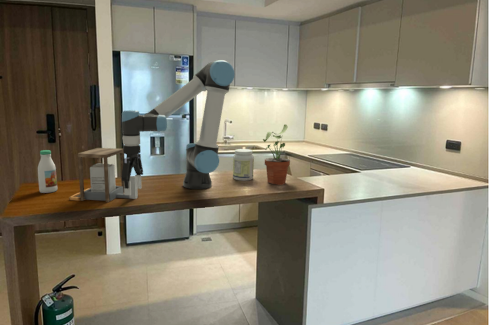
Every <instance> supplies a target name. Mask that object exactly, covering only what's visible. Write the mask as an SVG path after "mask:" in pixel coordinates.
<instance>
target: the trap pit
mask: <svg viewBox="0 0 490 325" xmlns="http://www.w3.org/2000/svg"><path fill="white" fill-rule="evenodd" d="M90 188H91V187H88V188H86V189H84V191H86V190H88V189H90ZM68 200H69V201H79V202H80V201H81V198H80V191H79V192H77V193H75V194H73V195H71V196H68Z"/></svg>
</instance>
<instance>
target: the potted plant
mask: <svg viewBox="0 0 490 325" xmlns="http://www.w3.org/2000/svg"><path fill="white" fill-rule="evenodd" d="M286 131H288V125H287V124H284V125H283V128H282V129H281V131H280V132H279V133H278V135H276V133H275V132H274V131H272V132H271V131H268V132H267V133H266V135H265V138H263V139H262V140H263V143H266V142H267V141H268V140H269V138H271V136H272V137H274V138H275V139H277V141H274V143H273V147H274V151H273V150H272V148H271V145H272V144H271V143H270V144H268V145H267V146H266V147H265V149H264V150H265V151H267V149H269V151H270V152H271V153H272V157H267V158H264V165H265V168H266V178H267V179H266V180H267V183H270V184H271V185H272V184H273V185H279V186H282V185H285V184H286V183H287V182H286V181H287V176H288V170H289V166H290V165H291V160H290V159H288V158H285V157H284V158H283V157H281V154H282V150H283V148H284V147H285V146H286V142H280V141H282V139H283V138H282V135H283V134H284V133H286ZM280 139H281V140H280ZM279 143H280V145H279V148H278V144H279Z"/></svg>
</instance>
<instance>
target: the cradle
mask: <svg viewBox="0 0 490 325" xmlns="http://www.w3.org/2000/svg"><path fill="white" fill-rule="evenodd" d="M129 181H131V195H125V193H123V186H122V185H116V189H115V190H113V191H111V192H110V193H109V201H110V202H111V201H113V200H115V199H117V198H118V199H119V198H121V199H133V200H136V199H137V198H139V196H138V194H139V192H138V189H137V177H135V175H134V176H132V175H131V176H130V180H129ZM89 188H90V189H88V188H87V189H88V190H86V189H85V190H86V191H84V197H85V201H86V200H87V201H90V200H91V201H104V202H106V199H105V193H104V192H91V187H89Z"/></svg>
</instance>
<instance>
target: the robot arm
mask: <svg viewBox="0 0 490 325" xmlns="http://www.w3.org/2000/svg"><path fill="white" fill-rule="evenodd" d="M234 79H235V69H234V67H233V65H232V64H231V63H230V62H228V61H226V60H219V59H217V60H215V61H212V62H208V63H207V64H205V65H204V66H203V68H201V69H200V70H199V71H197V73H195V74H194V75H193V77H192V79H191V80H190V81H189V82H187V83H186V84H184V85H183V86H181V87H180V88H179V89H178V90H176V91H174V93H172V94H171V95H169V96H168V97H167V98H166V99H164V100H163V101H162V102H161V103H159V104H158V105H156V106H155V107H153V109H151V110H150V111H148V112H146V113H144V114H140V111H139V110H135V109H134V110H133V109H131V110H123V111H122V113H121V127H122V128H121V129H122V130H121V132H122V143H123V145H122V149H123V153H124V155H126V158H125V157H124V158H123V169H122V177H121V176H120V181H121V180H122V181H124V193H123V194H125V195H131V181H129V180H130V176H132V170H133V169H134V173H135V175H134V176H135V177H137V190H138V189H140V190H141V189H142V176H143V175H144V169H143V163H142V158H141V156H142V155H141V132H142V133H143V132H158V133H160V132H165V131H166V130H167V128H168V121H167V119H168V118H169V117H170V116H172V114H174V113H176V112H177V111H178V110H179V109H181V108H182V107H184V106H185V105H186V104H187V103H188V102H190V101H191V100H193V99H194V98H195V97H197V96H198V95H199V94H201V93H202V92H206V98H205V103H204V110H203V115H202V122H201V127H200V133H199V138H198V140H197V141H196V142H195V143H187V144H186V149H185V152H186V154H185V155H186V156H185V157H186V158H185V160H186V162H185V164H186V169H185V170H186V172H185V176H184V178H183V181H182V182H183V183H182V186H183V188H186V189H189V190H204V189H208V188H211V187H212V186H213V185H212V184H213V182H212V178H211V176H210V173H212V172H214V171H216V170H217V168H218V167H219V164H220V158H219V155H218V154H219V145H218V144H217V142H218V136H219V130H220V125H221V118H222V114H223V107H224V102H225V96H226V95H227V93H229V92H230V87H231V84H232V83H233V81H234Z"/></svg>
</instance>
